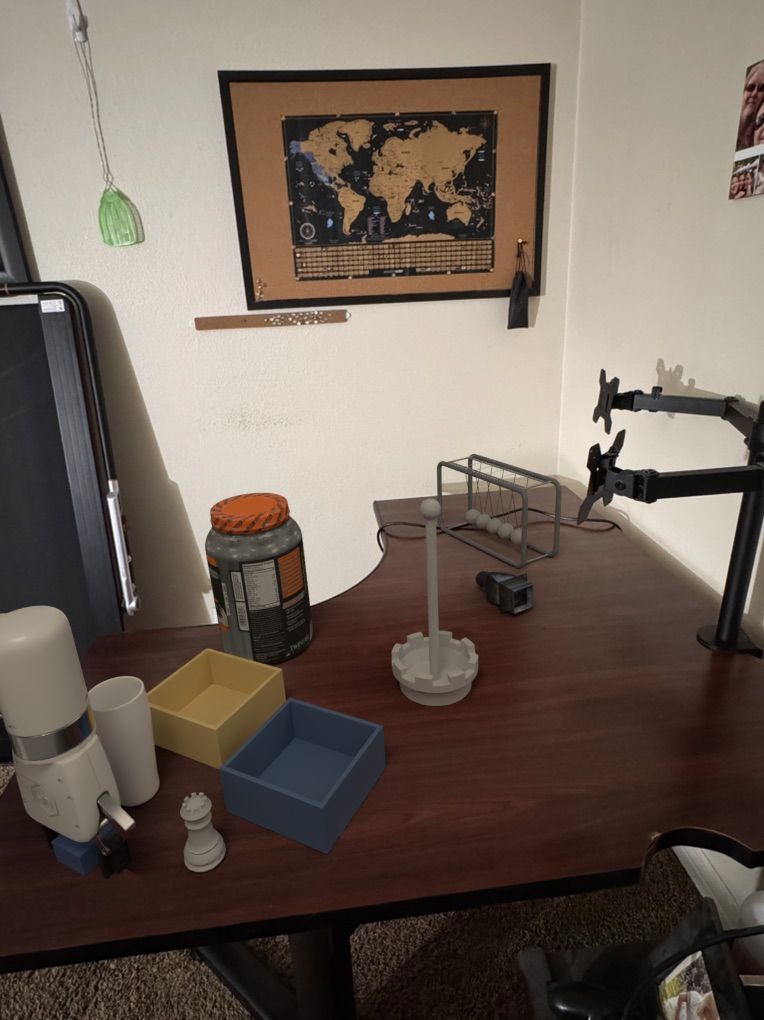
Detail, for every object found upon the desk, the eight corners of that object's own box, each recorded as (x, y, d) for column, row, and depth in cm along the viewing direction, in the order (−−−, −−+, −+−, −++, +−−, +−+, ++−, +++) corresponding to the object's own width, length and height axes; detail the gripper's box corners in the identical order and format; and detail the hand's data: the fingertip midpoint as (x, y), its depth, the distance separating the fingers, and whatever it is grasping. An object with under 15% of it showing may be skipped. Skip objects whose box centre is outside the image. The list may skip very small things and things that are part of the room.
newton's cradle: (559, 559, 135) (563, 480, 129) (523, 572, 130) (525, 491, 124) (470, 519, 159) (470, 451, 153) (437, 529, 154) (435, 459, 148)
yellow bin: (223, 771, 81) (215, 729, 79) (144, 740, 88) (135, 701, 85) (287, 706, 93) (282, 668, 91) (213, 683, 99) (207, 647, 97)
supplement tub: (235, 621, 117) (215, 490, 108) (319, 619, 116) (306, 486, 107) (210, 671, 102) (185, 524, 93) (306, 669, 102) (289, 520, 93)
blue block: (88, 888, 66) (79, 857, 65) (60, 872, 68) (50, 841, 67) (122, 855, 70) (114, 824, 68) (95, 841, 72) (86, 811, 70)
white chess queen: (176, 862, 69) (163, 806, 66) (208, 833, 72) (197, 779, 69) (203, 882, 66) (191, 824, 63) (235, 851, 70) (225, 795, 67)
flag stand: (486, 706, 91) (488, 512, 80) (396, 714, 90) (386, 519, 80) (468, 655, 103) (468, 481, 92) (389, 662, 102) (379, 487, 92)
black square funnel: (491, 583, 126) (491, 554, 124) (537, 610, 115) (538, 578, 113) (465, 592, 123) (465, 562, 121) (510, 620, 112) (511, 588, 110)
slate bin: (327, 854, 69) (322, 808, 66) (226, 811, 75) (218, 768, 73) (386, 767, 80) (383, 725, 78) (294, 736, 87) (289, 697, 84)
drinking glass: (139, 766, 83) (116, 670, 78) (178, 781, 80) (157, 682, 75) (97, 803, 77) (69, 702, 72) (137, 821, 74) (111, 717, 69)
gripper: (-37, 726, 63) (9, 855, 70) (79, 779, 56) (119, 918, 62) (31, 684, 70) (68, 806, 76) (144, 726, 62) (174, 858, 68)
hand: (91, 856), depth 69 cm, fingers open, 8 cm apart
